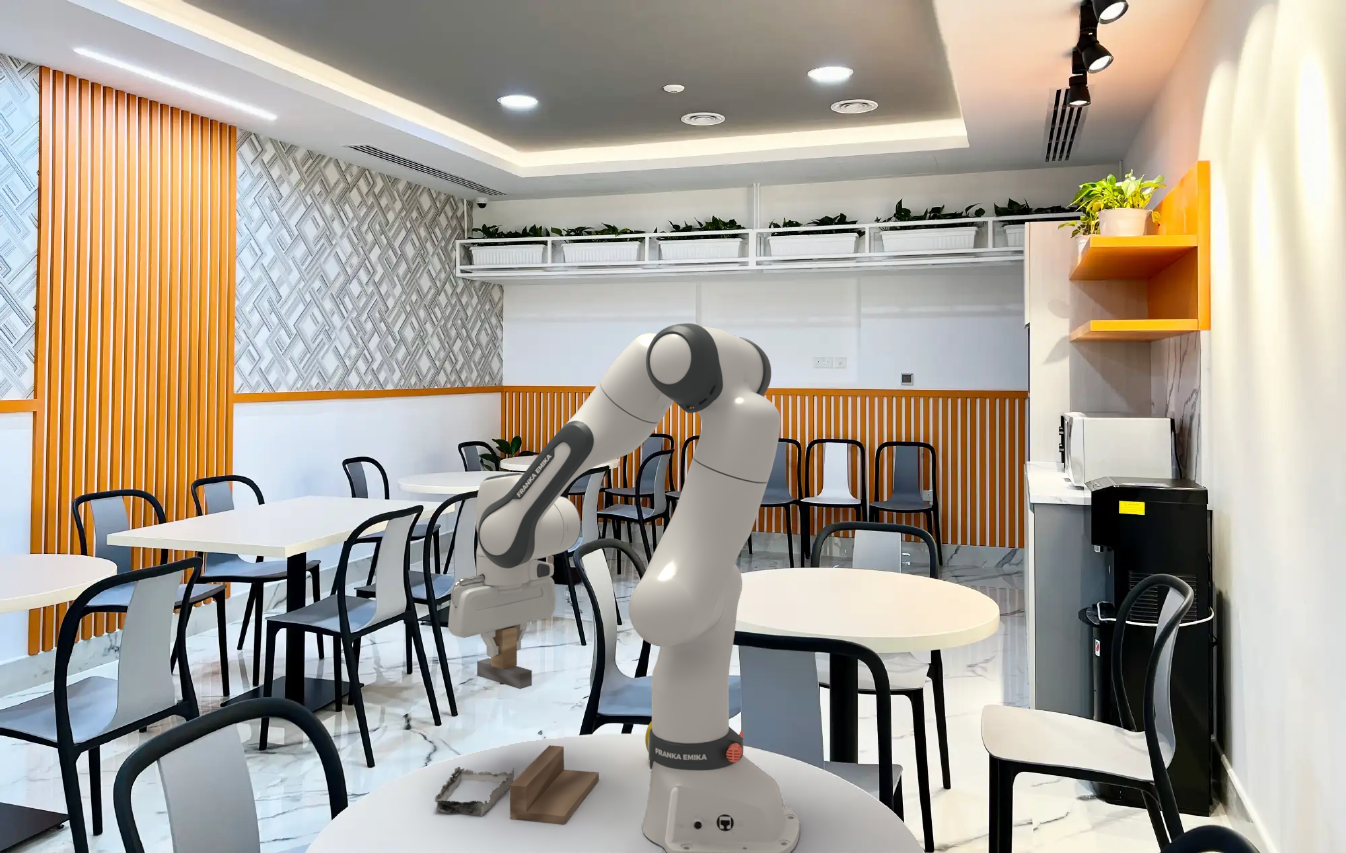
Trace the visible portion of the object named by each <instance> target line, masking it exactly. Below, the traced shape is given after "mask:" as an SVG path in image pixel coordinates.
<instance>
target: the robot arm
mask: <svg viewBox="0 0 1346 853" xmlns="http://www.w3.org/2000/svg"><path fill="white" fill-rule="evenodd" d="M771 380H772V366H771V362H770V360H769V357H768V355H767V354H766V352H765V351H764V350H763V349H762V348H761V347H760V346H759V345H757V344H756V343H755V342H753V341H751V340H750V339H747V338H745V337H742V336H741V337H740V336H737V335H734V334H732V333H730V332H728V331H726V330H724V329H722V328H716V327H710V326H703V325H702V326H701V325H699V324H695V323H689V322H688V323H686V322H685V323H677V324H673V325H670V326H667V327H665V328H663V329H661V330H660V331H659V332H657V333H654V332H647V333H646V332H645V333H641V335H638V336H637V337H635V339H633V340H632V341H631V342H630V343H629V344H628V345H627V346H626V347H625V348H624V349H623V350H622V352H621V353H620V354H619V355H618V356H617V358H615V360H614V361H613V362H612V363H611V365H610V366H609V367H608V369H607V370H606V371H605V373H604V374H603V376H602V377H601V379H600V380H599V381H598V383H597V384H596V386H595V387H594V389H593V390H592V391H591V393H590V394H589V395H588V397H587V398H586V400H585V401H584V403H582V405H581V406H580V407H579V409H578V410H577V411H576V412H575V413H574V415H572V417H571V418H570V419H569V420H568V421H567V422H566V424H564V425H563V426H562V427H561V429H560V430H559V431H558V432H557V433H556V434H554V436H553V437H552V438H551V439H550V440H549V442H548V443H547V444H546V445H545V446H544V447H543V449H541V451H540V453H539V454H538V455H537V456H536V458H535V459H534V460H533V461H532V463H530V465H529V466H528V467H527V469H526V470H525V471H524V473H520V472H511V473H504V474H498V475H497V474H496V475H493V476H492V475H491V476H488V477H486V478H485V479H483V480H482V481H481V482H480V485H479V488H478V490H477V498H476V509H475V510H476V511H475V512H476V513H475V519H476V520H475V525H476V526H475V528H476V532H477V538H478V545H477V548H476V555H475V556H476V558H475V559H476V568H475V569H476V575H473V576H469V577H463V578H460V579H458V581H457V582H456V583H455V584H454V585H453V586H452V588H451V591H450V603H449V604H450V605H449V611H448V612H449V613H448V624H447V626H448V631H449V632H450V634H451V635H452V636H455V637H458V638H462V639H466V638H471V637H474V636H478V635H480V639H482V641H483V643H484V644H485V646H486V656H487V657H488V658H489V657H490V658H491V657H495V656H499V655H500V645H496V644H495V642H494V640H493V638H492V637H495V630H499V629H503V628H507V627H511V626H516V627H517V652H518V651H520V650H521V649H522V639H523V638H524V634H525V633H526V631H527V623H530V622H534V621H538V620H542V619H546V618H551V617H552V616H553V614H554V612H555V610H556V600H557V599H556V585H555V580H554V579H553V578H552V576H553V575H554V572H555V570H554V569H555V566H554V564H552V563H550V562H547V561H542V560H539V559H544V558H547V557H549V556H550V557H551V556H553V555H557V554H561V553H563V552H565V551H567V550H570V549H571V548H572V547H574V546H575V545H576V543H577V541H578V540H579V537H580V535H581V530H582V521H581V520H582V519H581V516H580V512H579V510H578V508H577V506H576V505H575V504H574V503H573V502H572V500H570V499H569V498H567V497H564V496H561V495H562V494H563V493H564V491H565V490H566V489H567V488H568V487H569V485H570V484H571V483H572V482H573V481H574V480H576V478H578V477H579V476H581V475H582V474H583V473H586V472H587V471H589V470H591V469H593V468H595V467H598V466H600V465H603V464H604V463H605V464H606V463H608V462H610V461H613V460H615V459H618V458H621V457H625V456H626V455H629V454H631V453H633V452H635V451H636V450H637V449H638V448H639V447H640V446H641V445H642V444H643V443H644V442H645V441H646V440H647V439H649V437H650V436H651V435H653V433H654V431H655V430H656V429H657V427H658V425H659V424H661V421H662V420H663V419H664V417H665V416H666V415H665V414H667V412H668V411H669V409H670V407H671V406H672V405H673V404H674V403H675V404H676V405H677V406H679V407H680V408H681V409H682V410H683V411H684V412H685V413H687V414H694V413H698V415H699V417H700V423H701V430H700V434H699V439H698V440H697V444H696V447H695V450H694V453H693V457H692V460H691V462H690V465H689V467H688V471H687V474H686V478H685V480H684V483H683V487H682V489H681V493H680V496H679V499H678V501H677V504H676V506H675V510H674V512H673V514H672V516H671V519H670V520H669V523H668V525H667V526H666V529H665V531H664V532H663V534H662V536H661V538H660V540H659V543H658V544H657V546H656V548H655V551H654V552H653V555H652V557H651V559H650V561H649V563H648V566H647V568H646V570H645V572H644V574H643V576H642V577H641V579H640V580H639V582H638V584H637V585H636V586H635V588H634V590H633V591H632V593H631V595H630V599H629V602H628V616H629V619H630V623H631V626H632V628H633V629H634V630H635V632H636V634H638V636H639V637H640V638H641V639H643V640H644V641H645V642H646V643H649V644H651V645H653V646H655V647H659V651H658V654H657V655H658V656H657V659H656V661H655V665H654V667H653V670H652V675H651V721H652V729H650V731H649V741H648V751H647V753H648V763H649V769H650V783H649V791H648V796H647V797H648V798H647V804H646V808H645V812H644V817H643V820H642V823H641V829H642V832H643V834H644V835H645V837H646V838H647V839H649V840H650V841H652V842H653V843H655V844H657V845H659V846H660V847H662V848H663V849H664V850H665V852H666V853H791V852H792V851H793V850H794V849H795V848H796V846H797V844H798V841H799V839H800V833H801V830H800V829H801V827H800V820H799V817H798V815H797V814H796V813H795V812H794V811H793V809H791V808H790V807H789V808H788V807H784V801H783V797H782V793H781V790H780V787H779V784H778V782H777V781H776V780H775V778H774V777H772V775H770V774H768V773H767V772H765V770H763V769H762V768H761V767H759V766H758V765H757V764H755V762H753V761H751V760H750V759H749V758H748V757H746V755H744V731H743V730H740V732H739V733H737V732H736V731H735V730H734V729H733V728H731V727H730V717H729V716H730V714H729V713H730V708H729V707H730V705H729V704H730V702H729V700H730V698H729V697H730V696H729V695H730V693H729V692H730V691H729V690H730V688H729V687H730V686H729V685H730V684H729V682H730V669H731V668H730V667H731V661H732V654H733V647H734V639H735V632H736V624H737V616H738V606H739V600H740V598H741V594H742V591H743V578H742V573H741V571H740V569H739V568H738V566H737V564H736V561H737V560H738V558H739V555H740V553H741V552H742V549H743V547H744V546H745V545H746V543H747V540H748V539H749V537H750V535H751V533H752V531H753V527H754V525H755V522H756V519H757V517H758V516H757V515H758V513H759V511H760V507H761V504H762V500H763V498H764V495H765V492H766V490H767V489H766V488H767V486H768V483H769V479H770V476H771V474H772V470H773V466H774V461H775V459H776V454H777V450H778V444H779V437H780V431H781V415H780V412H779V409H778V408H777V407H776V405H775V404H774V403H772V401H771V400H769V399H768V398H766V397H765V396H764V395H765V394H766V393H767V391H768V389H769V387H770V384H771Z"/></svg>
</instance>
